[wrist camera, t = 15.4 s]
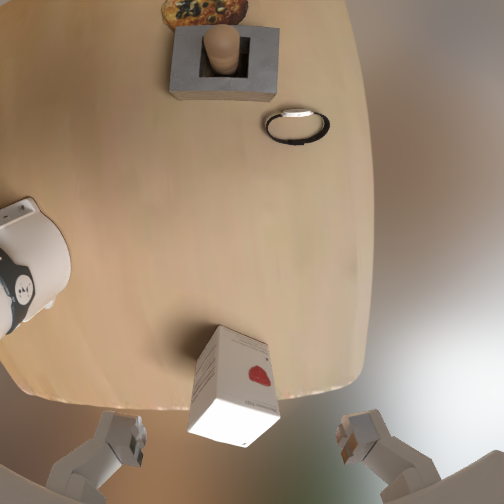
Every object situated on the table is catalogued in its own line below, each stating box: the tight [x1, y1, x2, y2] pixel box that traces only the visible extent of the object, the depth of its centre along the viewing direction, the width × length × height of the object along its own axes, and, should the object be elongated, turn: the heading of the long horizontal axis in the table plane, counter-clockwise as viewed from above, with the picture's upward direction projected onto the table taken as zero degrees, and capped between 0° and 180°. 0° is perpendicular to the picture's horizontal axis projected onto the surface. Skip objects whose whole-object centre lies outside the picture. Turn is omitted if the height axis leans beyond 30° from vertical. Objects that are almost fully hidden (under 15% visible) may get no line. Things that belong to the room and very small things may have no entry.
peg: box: [204, 24, 240, 78], centre depth 24 cm, size 3×3×12 cm
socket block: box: [169, 25, 280, 102], centre depth 27 cm, size 11×8×6 cm
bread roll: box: [162, 0, 248, 32], centre depth 24 cm, size 11×11×5 cm
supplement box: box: [187, 325, 280, 447], centre depth 37 cm, size 9×9×15 cm
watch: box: [266, 109, 330, 145], centre depth 31 cm, size 8×5×4 cm, turn 98°
